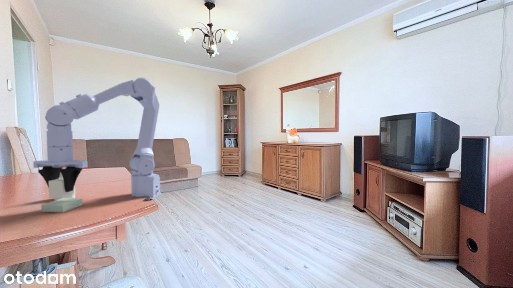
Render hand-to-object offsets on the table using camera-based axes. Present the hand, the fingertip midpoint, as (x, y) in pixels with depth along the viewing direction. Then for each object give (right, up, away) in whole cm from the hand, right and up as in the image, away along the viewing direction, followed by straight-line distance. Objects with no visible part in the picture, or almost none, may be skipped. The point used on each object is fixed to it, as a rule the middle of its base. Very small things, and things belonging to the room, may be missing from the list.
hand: (61, 191), depth 65 cm
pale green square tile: (0, -7, 0) cm, 7 cm away
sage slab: (0, -5, 0) cm, 5 cm away
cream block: (0, -1, 0) cm, 1 cm away
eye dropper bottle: (-8, -6, +10) cm, 14 cm away
